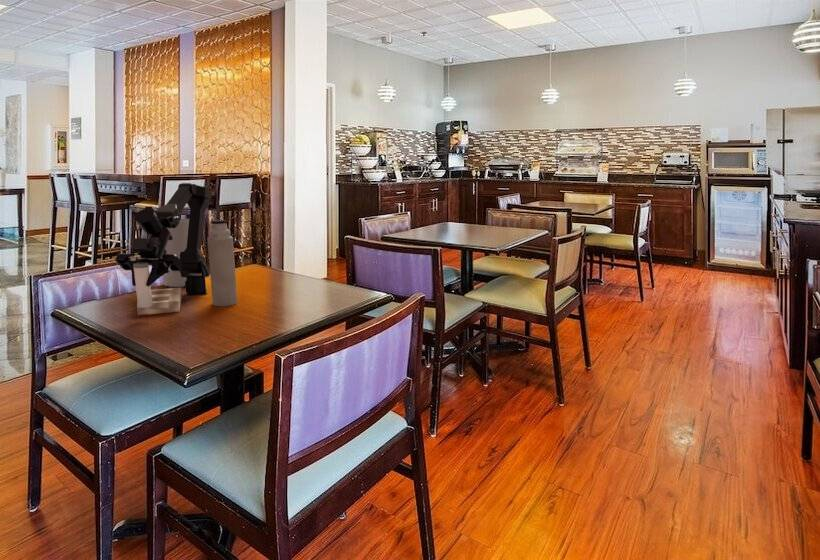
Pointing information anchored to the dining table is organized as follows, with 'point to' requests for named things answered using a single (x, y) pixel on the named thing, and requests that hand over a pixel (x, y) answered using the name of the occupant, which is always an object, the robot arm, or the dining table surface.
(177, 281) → the cylinder vase
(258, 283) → the dining table surface
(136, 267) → the plug
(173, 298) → the socket board
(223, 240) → the thermos bottle
